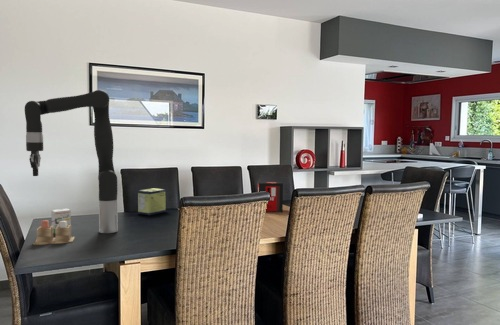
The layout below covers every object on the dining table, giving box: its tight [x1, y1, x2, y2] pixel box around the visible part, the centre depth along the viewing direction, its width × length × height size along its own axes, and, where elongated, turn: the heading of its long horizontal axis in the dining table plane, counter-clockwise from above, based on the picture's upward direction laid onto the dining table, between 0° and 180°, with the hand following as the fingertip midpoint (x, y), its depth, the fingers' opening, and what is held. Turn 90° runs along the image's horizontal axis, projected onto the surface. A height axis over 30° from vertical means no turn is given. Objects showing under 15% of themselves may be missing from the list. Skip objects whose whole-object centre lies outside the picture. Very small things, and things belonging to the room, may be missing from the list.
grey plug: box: [59, 221, 67, 228], centre depth 191 cm, size 3×3×8 cm
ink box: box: [51, 208, 72, 234], centre depth 209 cm, size 8×5×12 cm, turn 131°
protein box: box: [137, 187, 167, 216], centre depth 262 cm, size 10×16×16 cm
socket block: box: [32, 224, 76, 246], centre depth 190 cm, size 17×9×7 cm, turn 107°
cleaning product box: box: [257, 181, 284, 213], centre depth 272 cm, size 16×9×20 cm, turn 94°
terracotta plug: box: [40, 219, 50, 229], centre depth 189 cm, size 3×3×8 cm
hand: (35, 175), depth 197 cm, fingers closed
